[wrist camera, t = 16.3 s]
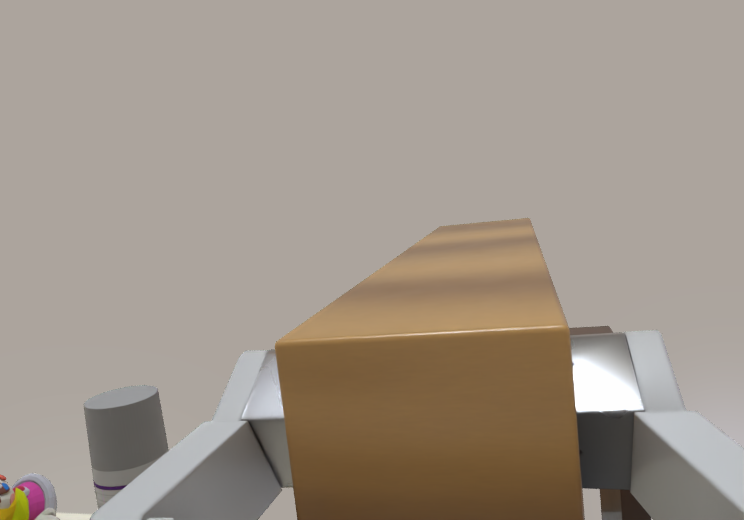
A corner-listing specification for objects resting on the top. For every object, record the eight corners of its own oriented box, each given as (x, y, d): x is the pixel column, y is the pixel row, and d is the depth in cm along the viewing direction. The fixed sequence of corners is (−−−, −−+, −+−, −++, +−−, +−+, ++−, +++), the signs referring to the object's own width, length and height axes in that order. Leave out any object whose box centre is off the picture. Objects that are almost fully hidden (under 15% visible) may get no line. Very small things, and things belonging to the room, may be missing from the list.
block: (587, 549, 8) (569, 324, 8) (297, 543, 9) (271, 341, 9) (535, 285, 27) (530, 217, 27) (445, 291, 28) (438, 226, 28)
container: (175, 584, 44) (145, 380, 43) (203, 613, 41) (171, 392, 39) (107, 617, 42) (72, 400, 40) (131, 652, 38) (93, 415, 36)
